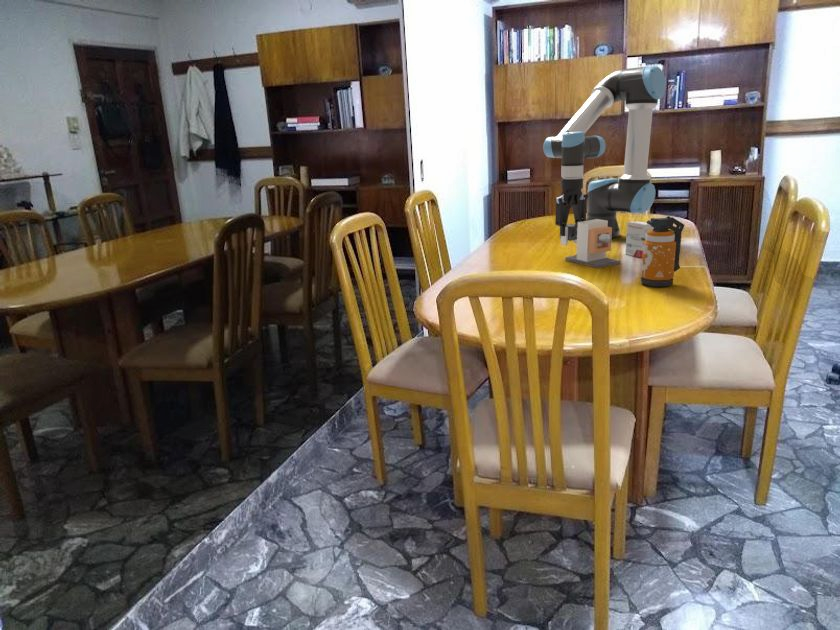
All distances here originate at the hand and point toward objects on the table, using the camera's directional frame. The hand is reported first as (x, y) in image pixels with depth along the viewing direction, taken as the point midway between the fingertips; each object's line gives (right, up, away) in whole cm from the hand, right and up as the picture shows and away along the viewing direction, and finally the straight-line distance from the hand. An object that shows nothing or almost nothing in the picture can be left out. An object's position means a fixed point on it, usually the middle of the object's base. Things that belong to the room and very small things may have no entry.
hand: (570, 243), depth 222 cm
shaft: (+4, 0, -7) cm, 8 cm away
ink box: (+24, -5, -2) cm, 25 cm away
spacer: (+7, 0, -13) cm, 15 cm away
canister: (+17, -17, -39) cm, 45 cm away
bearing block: (+5, -7, -7) cm, 12 cm away
